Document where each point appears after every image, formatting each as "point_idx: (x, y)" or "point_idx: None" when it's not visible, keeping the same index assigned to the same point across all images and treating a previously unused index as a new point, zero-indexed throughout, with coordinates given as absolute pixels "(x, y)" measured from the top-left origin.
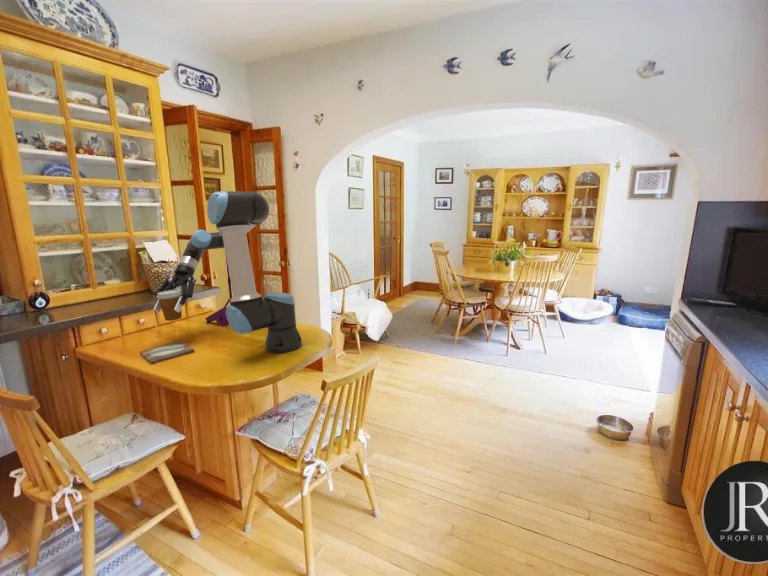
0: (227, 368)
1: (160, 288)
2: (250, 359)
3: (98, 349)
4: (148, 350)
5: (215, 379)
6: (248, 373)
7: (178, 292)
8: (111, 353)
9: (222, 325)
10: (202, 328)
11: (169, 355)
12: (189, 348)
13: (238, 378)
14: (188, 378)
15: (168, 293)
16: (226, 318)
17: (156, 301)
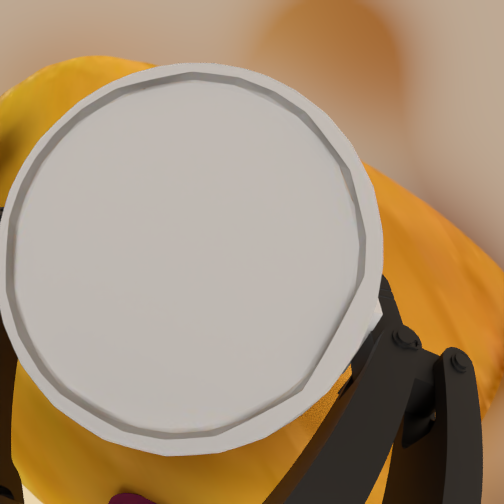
0: (41, 110)
1: (467, 461)
2: (3, 155)
3: (484, 279)
4: None
5: (62, 73)
6: (17, 100)
7: (9, 211)
8: (432, 235)
9: (147, 500)
10: (222, 492)
11: None
12: None
13: (32, 83)
14: (106, 67)
15: (142, 166)
16: (109, 501)
17: (386, 286)
